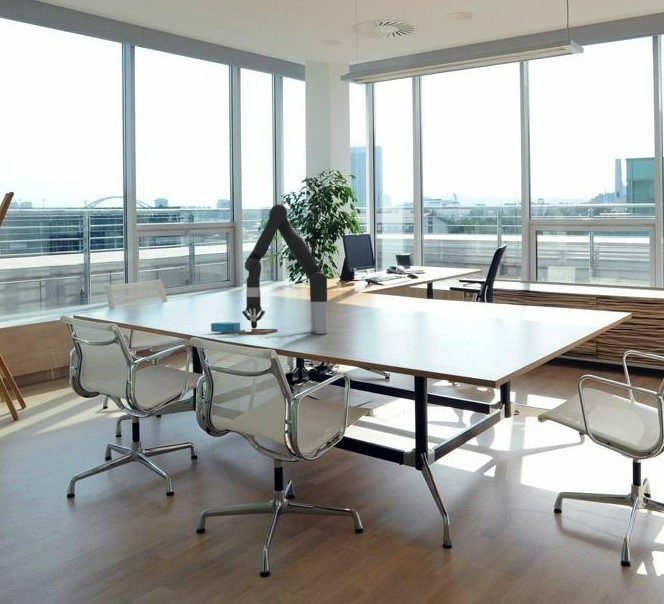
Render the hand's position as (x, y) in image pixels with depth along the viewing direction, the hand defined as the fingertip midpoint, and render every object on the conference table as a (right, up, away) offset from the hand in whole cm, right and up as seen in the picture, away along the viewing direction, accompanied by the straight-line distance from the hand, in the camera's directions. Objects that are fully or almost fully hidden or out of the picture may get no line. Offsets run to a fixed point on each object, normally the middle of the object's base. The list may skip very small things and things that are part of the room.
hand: (254, 328), depth 392 cm
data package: (-20, +1, +7) cm, 21 cm away
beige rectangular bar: (+6, -3, +1) cm, 7 cm away
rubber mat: (-12, -3, +3) cm, 12 cm away
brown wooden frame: (+2, -3, 0) cm, 3 cm away
